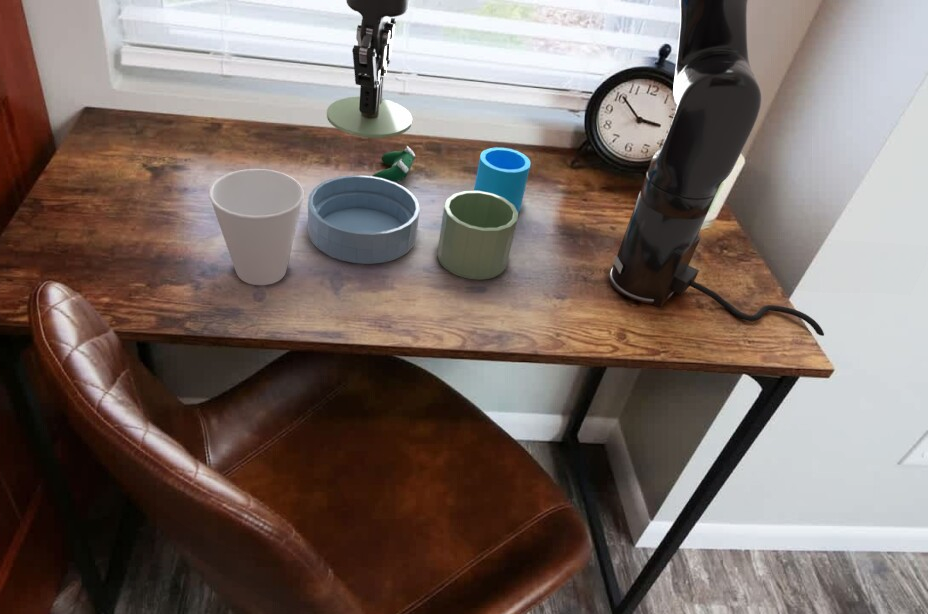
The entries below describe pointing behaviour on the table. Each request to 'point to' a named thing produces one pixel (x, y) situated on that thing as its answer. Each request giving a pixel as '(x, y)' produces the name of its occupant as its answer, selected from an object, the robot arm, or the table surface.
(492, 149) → the mug
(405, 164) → the gaming controller
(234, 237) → the cup
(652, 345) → the table surface
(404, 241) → the bowl
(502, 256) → the canister
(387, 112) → the lid
